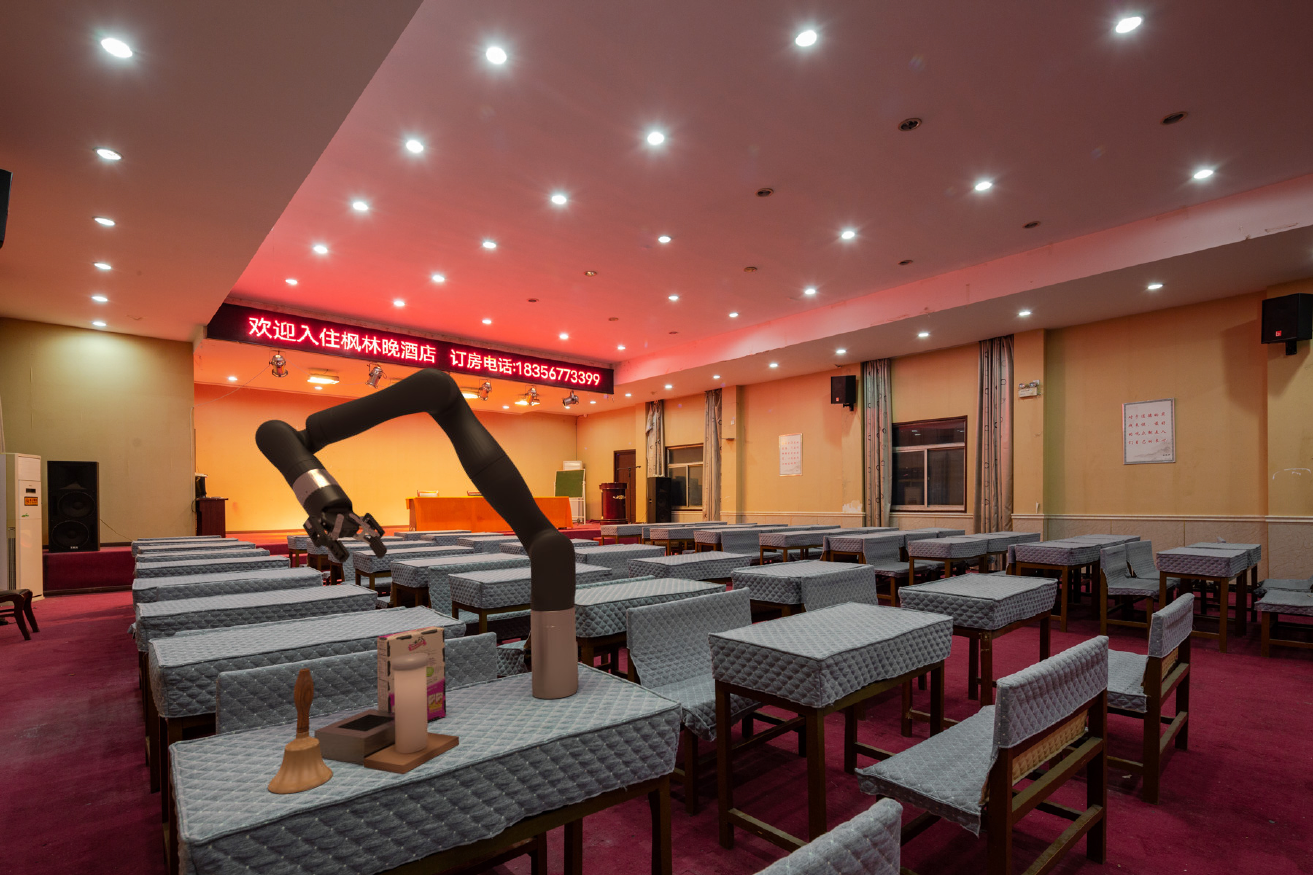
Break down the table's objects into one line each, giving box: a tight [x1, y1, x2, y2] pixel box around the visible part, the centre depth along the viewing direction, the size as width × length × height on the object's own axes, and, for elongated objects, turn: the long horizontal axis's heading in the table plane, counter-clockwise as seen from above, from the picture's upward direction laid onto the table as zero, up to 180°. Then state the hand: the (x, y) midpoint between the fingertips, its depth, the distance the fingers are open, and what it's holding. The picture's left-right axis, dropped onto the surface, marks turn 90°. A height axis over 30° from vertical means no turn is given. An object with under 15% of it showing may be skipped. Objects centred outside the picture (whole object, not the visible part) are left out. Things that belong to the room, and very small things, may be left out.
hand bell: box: [267, 667, 334, 795], centre depth 93 cm, size 8×8×16 cm
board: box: [363, 731, 460, 775], centre depth 100 cm, size 12×8×1 cm, turn 156°
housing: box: [313, 708, 395, 766], centre depth 104 cm, size 11×11×4 cm
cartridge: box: [392, 653, 429, 754], centre depth 101 cm, size 5×5×14 cm
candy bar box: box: [376, 625, 447, 723], centre depth 116 cm, size 11×5×16 cm, turn 138°
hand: (365, 557), depth 116 cm, fingers open, 8 cm apart
